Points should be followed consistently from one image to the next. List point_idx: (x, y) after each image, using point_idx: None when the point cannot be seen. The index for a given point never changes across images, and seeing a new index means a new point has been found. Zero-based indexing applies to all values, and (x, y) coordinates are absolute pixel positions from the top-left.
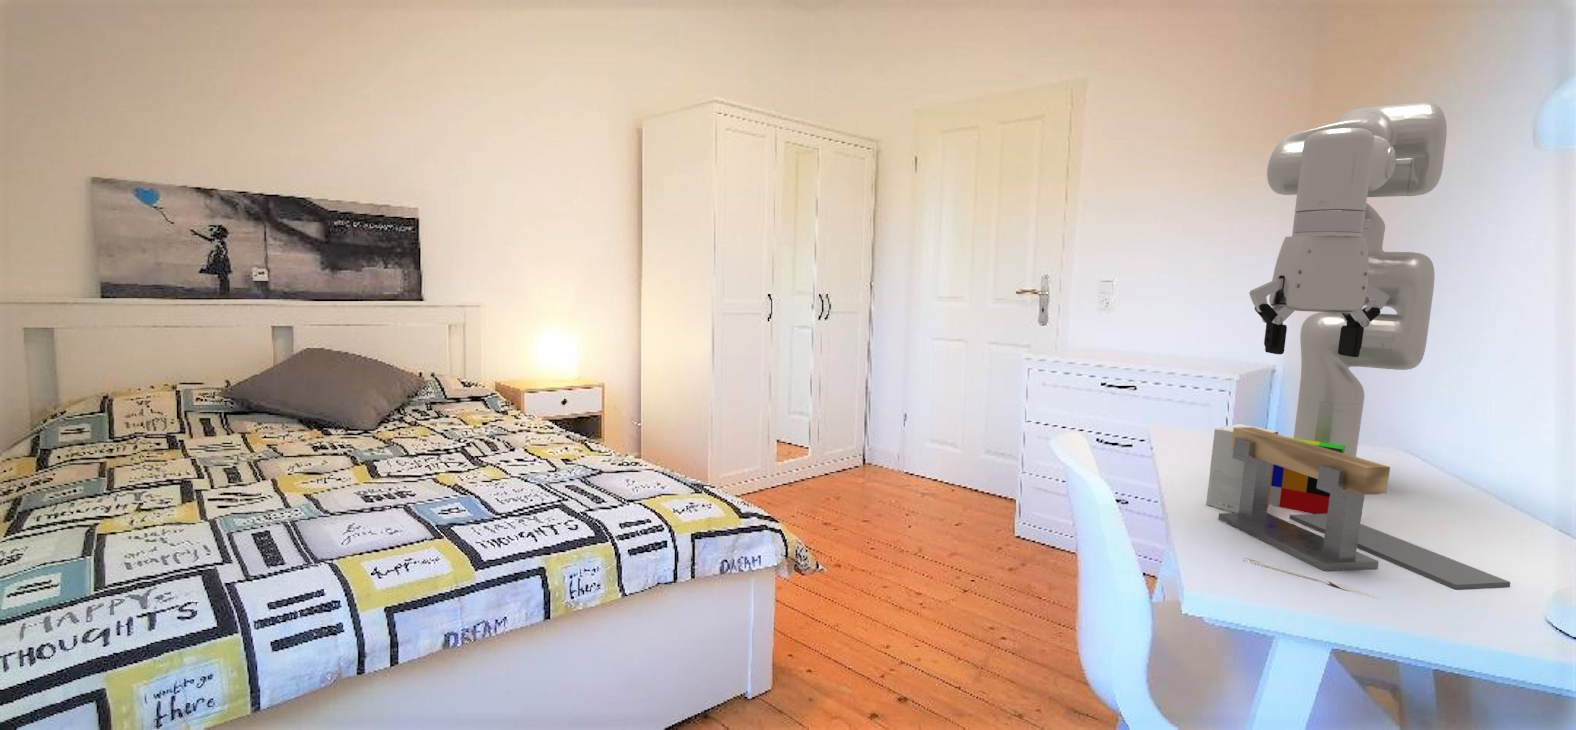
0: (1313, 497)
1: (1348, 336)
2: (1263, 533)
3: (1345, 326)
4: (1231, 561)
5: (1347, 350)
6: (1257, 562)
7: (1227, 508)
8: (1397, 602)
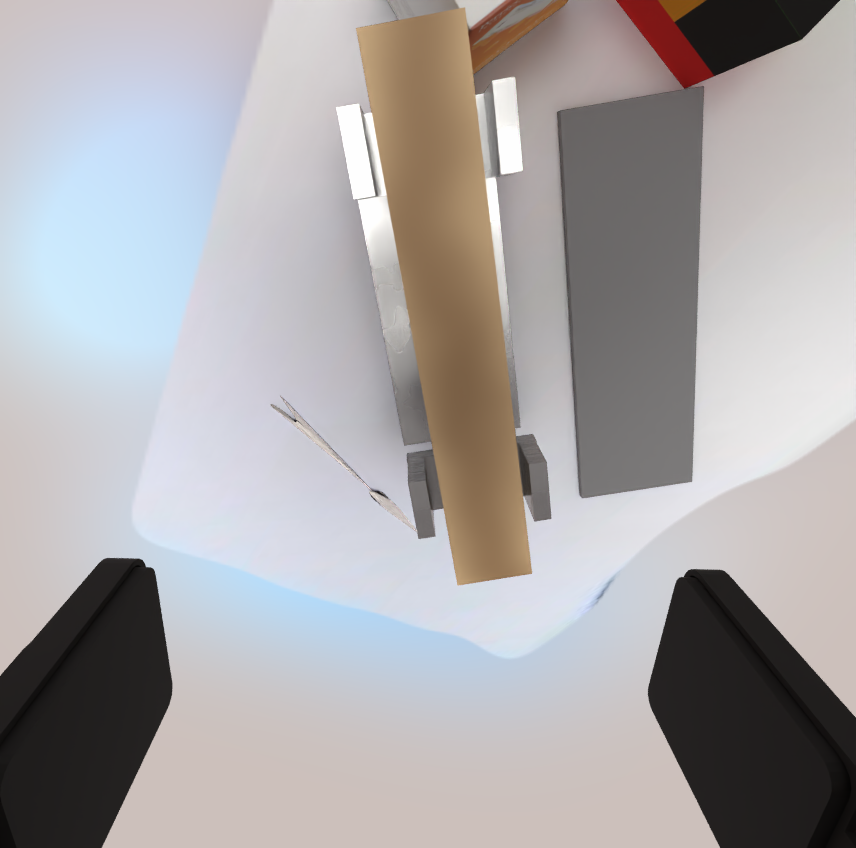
0: (681, 43)
1: (735, 778)
2: (379, 290)
3: (847, 812)
4: (247, 408)
5: (673, 680)
6: (290, 421)
7: None
8: (439, 542)
